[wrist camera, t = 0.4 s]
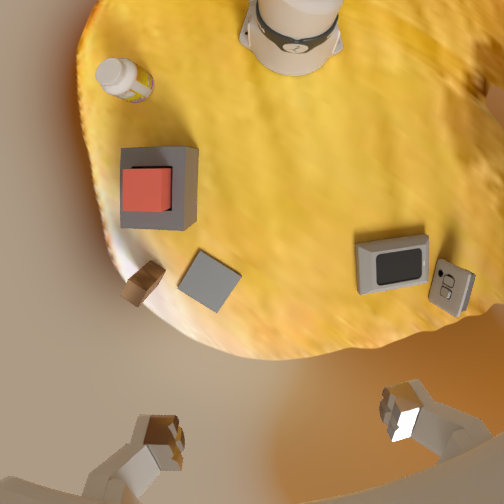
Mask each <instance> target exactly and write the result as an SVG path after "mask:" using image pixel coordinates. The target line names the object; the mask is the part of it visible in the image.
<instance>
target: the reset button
mask: <svg viewBox="0 0 504 504" xmlns="http://www.w3.org/2000/svg"><path fill="white" fill-rule="evenodd" d="M171 194H172V168H151V169H123V211H142V212H163V211H165V210H167V209H169V208H171Z"/></svg>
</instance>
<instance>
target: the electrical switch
mask: <svg viewBox="0 0 504 504" xmlns="http://www.w3.org/2000/svg"><path fill="white" fill-rule="evenodd" d="M475 276H476V275H474V273H471V272H470V271H469V270H466V269H463V268H460V267H458V266H456V265H454V264H451V263H449V262H447V261H446V260H444V259H438V261H437V264H436V268H435V273H434V277H433V281H432V285H431V289H430V293H429V297H428V299H429V301H430V302H432V303H433V304H435V305H437V306H438V307H440V308H441V309H443V310H445V311H446V312H448V313H450V314H451V315H453V316H454V317H458V316H460V313H461V312H462V311H466V309H467V305H468V302H469V298H470V295H471V291H472V288H473V284H474V280H475ZM465 297H466V298H465Z"/></svg>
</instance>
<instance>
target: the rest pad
mask: <svg viewBox="0 0 504 504" xmlns="http://www.w3.org/2000/svg"><path fill="white" fill-rule="evenodd" d="M241 277H242V276H241V275H240V274H238V273H236V272H235V271H233V270H232V269H230V268H228V267H227V266H225V265H224V264H222V263H220V262H219V261H217V260H216V259H214V258H212V257H211V256H209V255H208V254H206V253H205V252H203V251H201V250H200V252H199V254H198V255H197V257H196V258H195V260H194V262H193V263H192V265H191V267H190V268H189V270H188V272H187V273H186V275H185V277H184V278H183V280H182V282H181V284H180V285H179V287H178V289H179V290H180V291H182V292H184V293H185V294H187V295H188V296H190V297H192V298H193V299H195V300H196V301H198V302H200V303H201V304H203V305H204V306H206V307H208V308H209V309H211V310H213V311H214V312H216V313H217V312H218V311H219V309H220V308H221V306H222V305H223V304H224V302H225V301H226V299H227V298H228V296H229V295H230V293H231V292H232V290H233V289H234V287H235V286H236V284H237V283H238V281H239V280H240V279H241Z"/></svg>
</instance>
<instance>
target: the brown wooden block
mask: <svg viewBox="0 0 504 504" xmlns="http://www.w3.org/2000/svg"><path fill="white" fill-rule="evenodd" d="M165 272H166V270H165V269H163V268H162V267H160V266H158V265H157V264H155V263H154V262H152V261H150V262H148V263H147V264H146V265H145V266H144V267H142V268H141V269H140V270H139V271H138V272H136V273H135V274H134V275H133V276H132V277H130V278H129V279H128V281H127V283H126V286H125V287H124V290H123V292H122V294H121V296H122V297H123V298H125V299H126V300H127V301H129V302H130V303H132V304H134V305H135V306H137V307H139V306H140V305H141V303H142V302H143V301H144V300H145V299H146V298H147V297H148V296H149V294H150V293H151V292H152V291H153V290H154V289H155V288H156V287H157V285H158V284H159V282H160V281H161V279H162V277H163V275H164V273H165Z"/></svg>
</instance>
